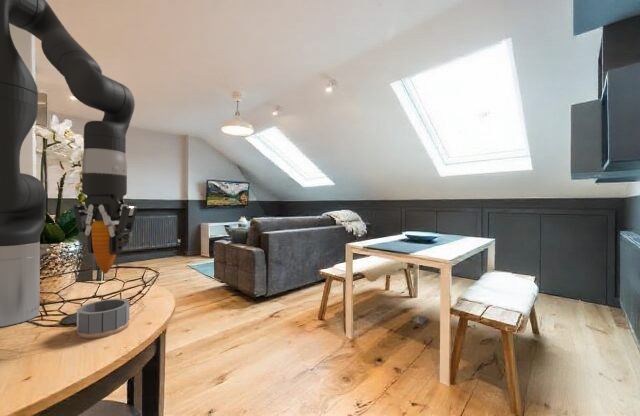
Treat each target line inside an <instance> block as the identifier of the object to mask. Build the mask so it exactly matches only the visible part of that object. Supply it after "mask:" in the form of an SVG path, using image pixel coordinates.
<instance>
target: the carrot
mask: <svg viewBox="0 0 640 416" xmlns="http://www.w3.org/2000/svg"><path fill="white" fill-rule="evenodd" d="M98 209H99V207H98ZM114 226H115V230H117V226H116V225H114ZM91 232H92V247H93V251H94V253H93V255H94V256H93V257H94V259H95V262H96V264H97V266H98V268H99V269H100V271H101V272H102V273H103V274H107V273H109V271H110V269H111V268H112V266H113V265H114V262H115V261H116V257H117V254H115V255H111V254H110V253H109V237H111V236H110V234H109V230H108V227H106V226H105V224H104V221H102V220H99V221H95V222H93V223H92V226H91Z"/></svg>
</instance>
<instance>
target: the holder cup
mask: <svg viewBox="0 0 640 416" xmlns="http://www.w3.org/2000/svg"><path fill="white" fill-rule="evenodd" d="M130 305H131V304H130V301H129V300H128V299H125V298H109V299H108V298H107V299H103V300H96V301H93V302H90V303H87V304H84V305H82V306H80V307H79V308H77V309H76V331H77V334H76V335H77V337H78V338H79V339H83V340H84V339H85V340H89V339H91V340H92V339H101V338H105V337H109V336H112V335H115V334H118V333H120V332H122V331H124V330H126V329H127V328H128V327H129V321H130Z"/></svg>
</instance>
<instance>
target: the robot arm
mask: <svg viewBox="0 0 640 416" xmlns="http://www.w3.org/2000/svg"><path fill="white" fill-rule="evenodd" d="M10 25H12V26H15V27H16V28H18V29H20V30H24V31H26V32H28V33H29V34H30V35H32V36H34V37H35V38H36V39H38V40H39V41H41V43H40V45H41V50H42V53H43V54H44V57H45V58H46V59H47V61H49V63H50V64H51V65H52V66H53V67H54V68H55V69H56V70H57V72H59V74H60V75H62V77H63V78H64V80H65V82H66V84H67V87H68V89H69V91H70V92H71V94H72V96H73V97H74V98H75V99H77V100H78V101H79V102H80V103H82V104H83V105H85V106H87V107H89V108H92V109H94V110H98V111H101V112H103V113H104V114H103V118H102V119H101V120H90V121H87V122H86V123H85V124H84V125H83V126H84V127H83V153H82V159H81V194H83V195H84V196H86V200H85V203H84V204H74V205H73V212H74V216H75V221H76V226H77V230H78V233H83V234H85V236H87V252H88V254H94V251H93V247H92V232H91V226H92V223H93V222H95V221H99V220H102V221H104V224H105V226H106V227H108V230H109V234H110V236H111V237H109V253H110V254H111V255H115V254H116V255H120V254H121V253H122V251H123V248H124V238H123V237H124V236H125V235H126V234H131V233H132V231H133V228H134V223H135V218H136V216H137V211H138V208H137V206H136V205H128V204H126V202H125V200H124V199H125V198H124V197H125V196H126V195H127V193H128V191H127V190H128V189H127V188H128V184H127V183H128V162H127V156H126V140H127V139H126V137H127V132H128V131H129V130H128V129H129V127H130V122H131V120H132V118H133V114H134V110H135V105H136V104H135V98H134V95H133V93H132V91H131V90H130V88H129V87H127V86H126V85H124V84H122V83H121V82H120V81H119V82H118V81H117V80H115V79H112V78H110V77H108V76H106V75H104V74H103V72H102V69H101V66H100V65H99V63H98V62H97V61H96V60H95V58H94V57H93V56H92V55H91V54H90V53H89V52H88V51H87V50H85V48H84V47H83V46H81V45H80V43H78V41H77V40H75V38H74V37H73V36H72V35H71V34H70V32H69V31H68V30H67V28H65V26H64V24H63V23H62V22H61V21H60V19H59V17H58V16H57V15H56V13H55V11H54V10H53V8H52V7H51V6H50V4H49V3H48V2H47V0H0V328H1V327H6V326H7V327H8V326H11V325H16V324H21V323H24V322H26V321H29V320H32V319H34V318H36V317H38V316H39V315H40V308H41V307H40V306H41V305H40V289H41V288H40V287H41V286H40V283H41V282H40V281H41V280H40V278H41V277H40V276H41V275H40V272H41V269H40V268H41V267H40V266H41V264H40V263H41V262H40V261H41V254H40V252H41V250H40V249H41V246H40V245H41V236H42V235H41V234H42V232H43V230H44V228H45V225H46V224H45V223H46V212H47V211H46V210H47V193H46V188H45V185H44V184H43V182H42V181H41V180H39V178H37V177H36V176H34V175H31V174H27V173H21V168H20V167H21V165H20V164H21V163H20V157H21V156H20V155H21V150H22V146H23V143H24V141H25V140H26V138H27V136H28V134H29V133H30V132H31V130H32V129H33V127H34V125H35V123H36V120H37V118H38V107H39V104H38V102H39V98H38V97H39V90H38V87H37V83H36V80H35V78H34V76H33V75H32V73H31V71H30V70H29V68H28V67H27V65H26V63H25V61H24V60H23V58H22V56H21V55H20V53H19V52H18V49H17V48H16V45H15V43H14V41H13V38H12V35H11V34H12V33H11V30H10ZM98 207H99V209H98ZM84 222H85V223H84ZM114 225H116V226H117V230H115V226H114Z"/></svg>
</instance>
